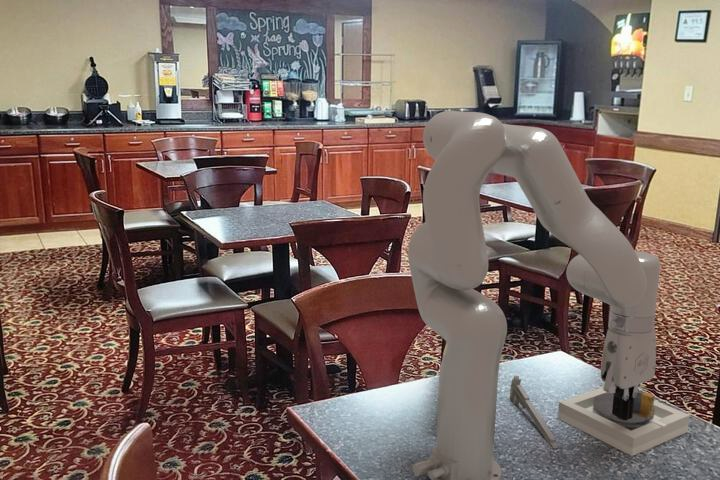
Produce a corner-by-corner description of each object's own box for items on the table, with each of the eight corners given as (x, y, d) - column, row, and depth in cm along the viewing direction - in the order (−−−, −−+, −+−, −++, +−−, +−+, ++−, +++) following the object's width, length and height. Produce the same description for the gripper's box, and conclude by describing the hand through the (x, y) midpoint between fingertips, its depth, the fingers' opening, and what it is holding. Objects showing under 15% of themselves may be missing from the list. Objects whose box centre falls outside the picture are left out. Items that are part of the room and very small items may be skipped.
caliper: (509, 401, 145) (511, 373, 144) (514, 400, 145) (515, 372, 144) (553, 450, 126) (555, 418, 124) (558, 449, 126) (561, 417, 124)
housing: (633, 457, 123) (636, 437, 122) (557, 418, 137) (559, 400, 136) (690, 432, 132) (693, 413, 132) (613, 398, 147) (615, 381, 146)
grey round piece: (580, 412, 136) (583, 381, 135) (616, 399, 142) (619, 369, 140) (630, 436, 127) (633, 403, 125) (666, 422, 133) (670, 390, 131)
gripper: (622, 335, 116) (613, 435, 120) (675, 319, 124) (665, 414, 128) (586, 322, 122) (578, 418, 126) (638, 308, 130) (629, 399, 134)
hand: (622, 416), depth 127 cm, fingers closed
